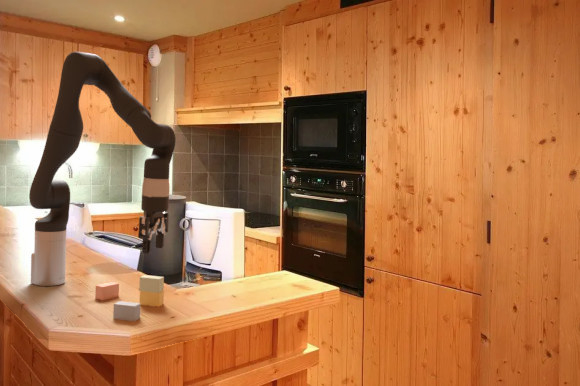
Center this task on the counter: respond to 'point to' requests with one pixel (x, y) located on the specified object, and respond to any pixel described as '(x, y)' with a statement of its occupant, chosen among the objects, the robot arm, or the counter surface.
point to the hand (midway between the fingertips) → (153, 250)
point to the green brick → (151, 283)
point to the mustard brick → (151, 298)
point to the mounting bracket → (189, 284)
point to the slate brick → (126, 311)
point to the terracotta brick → (107, 290)
